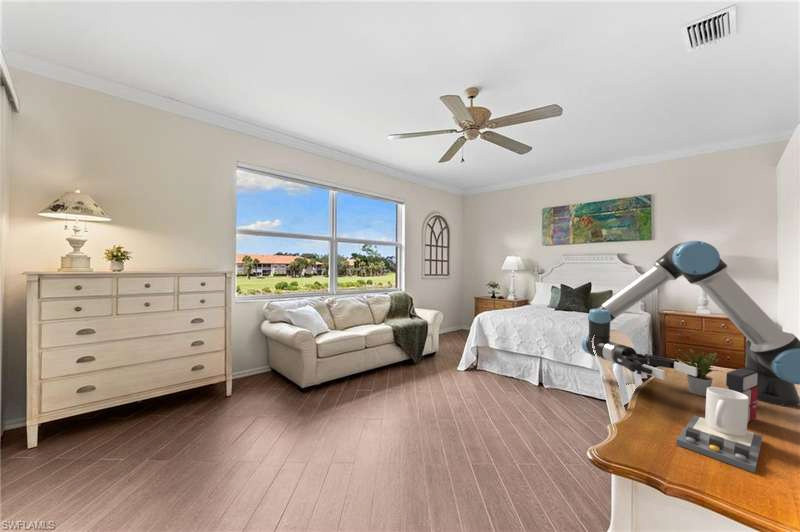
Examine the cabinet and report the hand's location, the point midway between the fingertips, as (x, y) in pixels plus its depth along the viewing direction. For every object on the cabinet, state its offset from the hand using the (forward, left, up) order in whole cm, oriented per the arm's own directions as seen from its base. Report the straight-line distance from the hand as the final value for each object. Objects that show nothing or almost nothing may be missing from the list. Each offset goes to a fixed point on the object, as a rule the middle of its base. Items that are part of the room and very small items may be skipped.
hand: (680, 373), depth 103 cm
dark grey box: (-16, +4, -13) cm, 21 cm away
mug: (0, +13, -11) cm, 17 cm away
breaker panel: (+4, +16, -13) cm, 21 cm away
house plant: (-24, -17, -13) cm, 32 cm away
